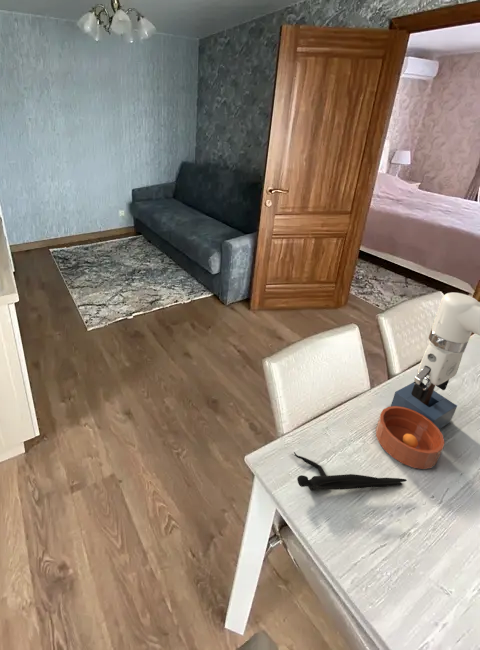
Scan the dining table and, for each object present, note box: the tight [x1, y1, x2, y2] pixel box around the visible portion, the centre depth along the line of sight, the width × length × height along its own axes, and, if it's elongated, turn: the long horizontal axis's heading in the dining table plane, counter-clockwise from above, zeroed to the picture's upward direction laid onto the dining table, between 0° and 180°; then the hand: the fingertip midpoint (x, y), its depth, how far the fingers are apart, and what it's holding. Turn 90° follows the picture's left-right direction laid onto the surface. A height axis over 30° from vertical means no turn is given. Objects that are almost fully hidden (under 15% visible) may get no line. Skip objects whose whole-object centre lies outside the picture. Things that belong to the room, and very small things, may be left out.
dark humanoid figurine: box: [293, 451, 407, 492], centre depth 80 cm, size 8×9×25 cm
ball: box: [403, 434, 418, 448], centre depth 87 cm, size 3×3×3 cm
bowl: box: [375, 405, 445, 470], centre depth 87 cm, size 13×13×6 cm
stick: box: [422, 376, 436, 406], centre depth 94 cm, size 2×2×13 cm
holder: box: [390, 381, 458, 430], centre depth 95 cm, size 10×10×6 cm
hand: (428, 392), depth 93 cm, fingers open, 8 cm apart
